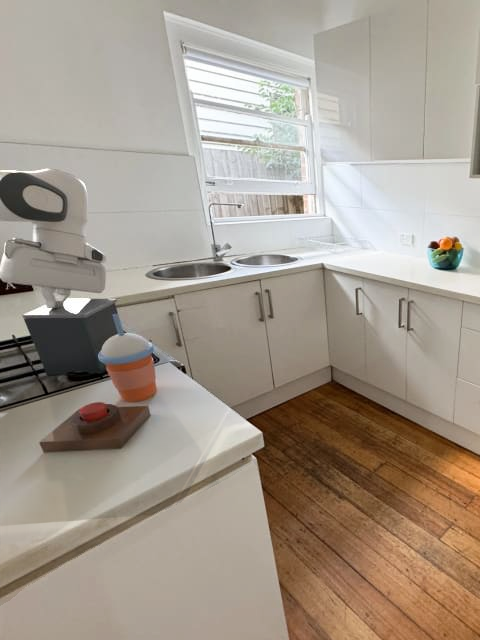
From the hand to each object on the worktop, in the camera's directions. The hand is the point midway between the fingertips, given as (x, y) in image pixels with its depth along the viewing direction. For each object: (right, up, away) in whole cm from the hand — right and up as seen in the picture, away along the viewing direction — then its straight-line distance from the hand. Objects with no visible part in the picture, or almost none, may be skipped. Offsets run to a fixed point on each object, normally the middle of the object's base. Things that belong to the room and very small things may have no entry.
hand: (55, 308), depth 85 cm
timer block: (+24, -24, -17) cm, 38 cm away
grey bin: (+2, -13, +7) cm, 15 cm away
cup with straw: (+22, -19, -5) cm, 30 cm away
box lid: (+2, 0, +2) cm, 3 cm away
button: (+24, -21, -18) cm, 37 cm away
